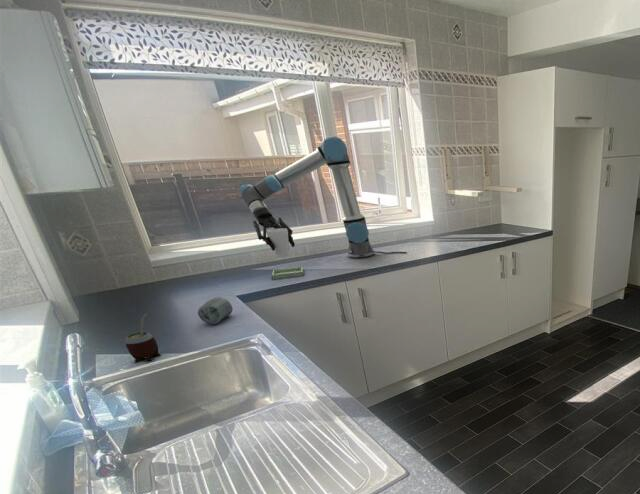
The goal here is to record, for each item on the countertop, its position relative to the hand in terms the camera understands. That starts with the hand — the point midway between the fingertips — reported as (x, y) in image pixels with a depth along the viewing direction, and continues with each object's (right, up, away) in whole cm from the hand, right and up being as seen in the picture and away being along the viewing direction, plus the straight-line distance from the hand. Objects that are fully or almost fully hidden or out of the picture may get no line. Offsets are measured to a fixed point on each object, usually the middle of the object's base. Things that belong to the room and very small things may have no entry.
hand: (284, 247), depth 212 cm
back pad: (-2, -13, +8) cm, 15 cm away
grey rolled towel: (+3, -41, -50) cm, 65 cm away
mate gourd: (+1, -55, -80) cm, 97 cm away
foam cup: (-2, -4, +4) cm, 6 cm away
